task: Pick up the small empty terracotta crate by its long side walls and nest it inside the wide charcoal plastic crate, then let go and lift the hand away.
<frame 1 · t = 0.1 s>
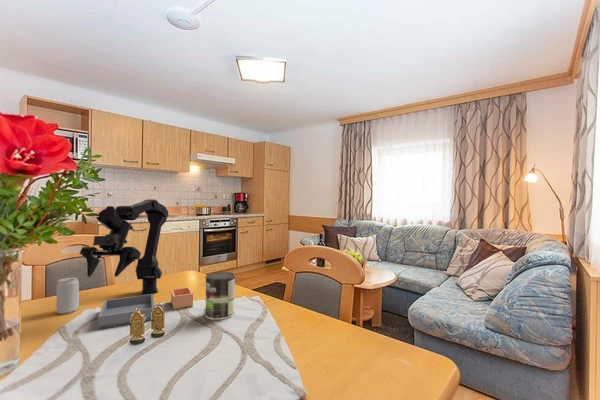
hand: (102, 276, 99), 15 cm above the table, tool tilted 35°, fingers open, 9 cm apart
big crate: (128, 315, 103), on the table
coffee can: (220, 315, 103), on the table
beverage can: (67, 312, 106), on the table
small crate: (181, 304, 114), on the table
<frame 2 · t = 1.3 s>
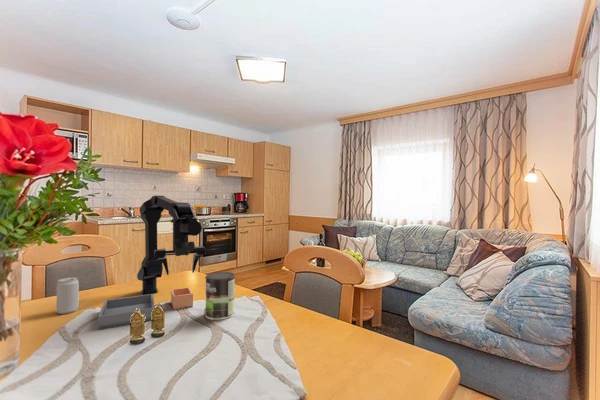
hand: (180, 273, 114), 12 cm above the table, tool pointing down, fingers open, 9 cm apart
nothing on the table moved.
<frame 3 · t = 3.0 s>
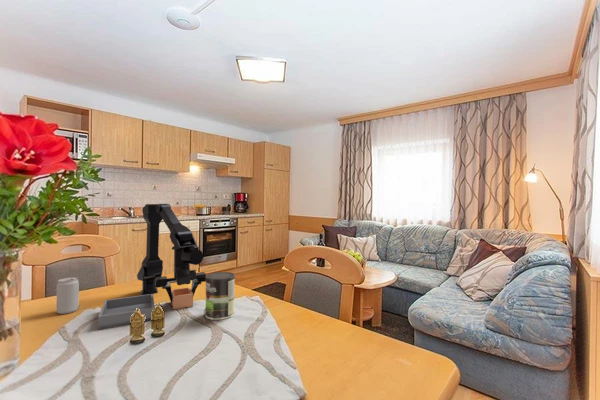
hand: (181, 301, 114), 1 cm above the table, tool pointing down, fingers closed on small crate, 7 cm apart
small crate: (181, 304, 114), on the table, touching gripper
everything else where it was.
when the fingers open (4 cm above the table, at t = 7.9 s): small crate drops 2 cm, resting on big crate.
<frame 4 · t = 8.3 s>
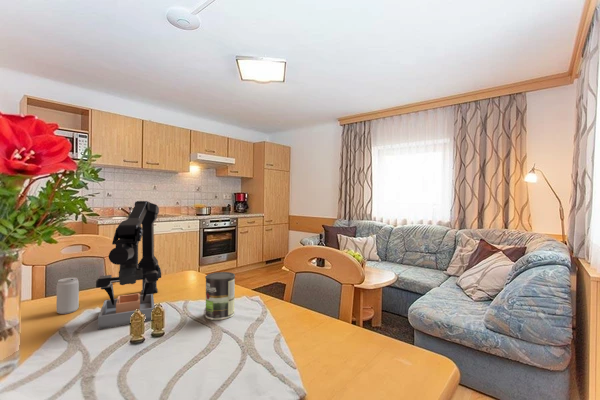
hand: (128, 302, 103), 4 cm above the table, tool pointing down, fingers open, 9 cm apart
big crate: (128, 315, 103), on the table, touching small crate
small crate: (128, 312, 103), point 1 cm above the table, touching big crate
everything else where it was.
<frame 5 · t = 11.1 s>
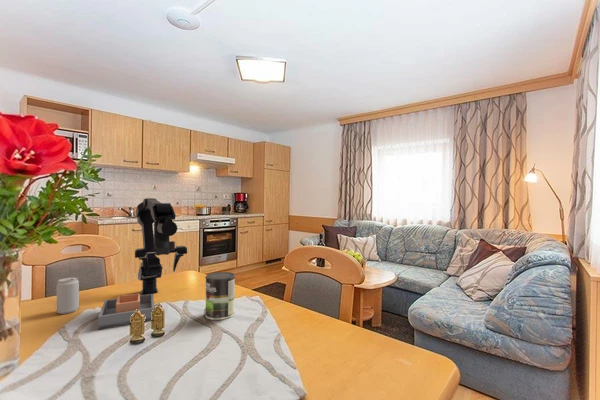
hand: (161, 272, 116), 12 cm above the table, tool pointing down, fingers open, 9 cm apart
nothing on the table moved.
at the end: small crate inside the target area on the big crate (0.0 cm from its centre), point 1.0 cm above the big crate's base; small crate tilted 0°; the gripper is holding nothing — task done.
